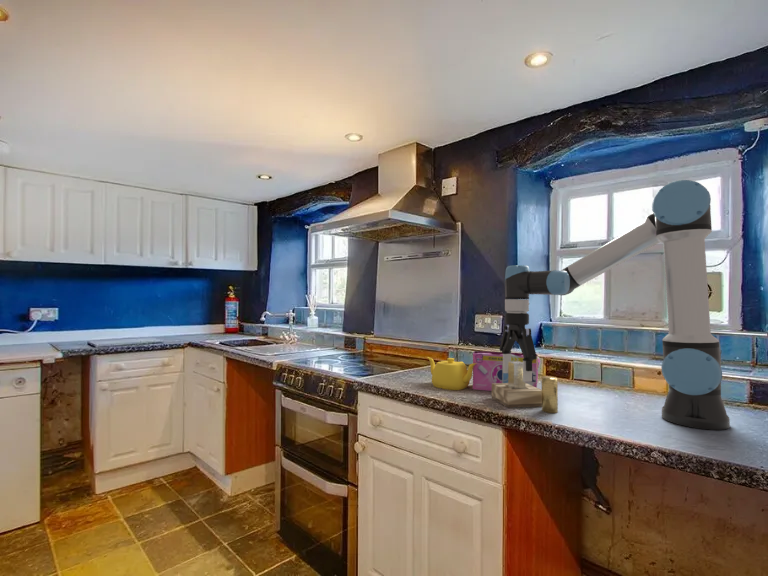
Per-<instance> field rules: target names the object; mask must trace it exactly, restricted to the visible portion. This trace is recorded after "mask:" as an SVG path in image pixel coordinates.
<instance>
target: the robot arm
mask: <svg viewBox="0 0 768 576" xmlns="http://www.w3.org/2000/svg"><path fill="white" fill-rule="evenodd" d="M711 202H712V201H711V194H710V192H709V190H708V188H706V187H705V186H704V185H702V184H701V183H700V182H697V181H695V180H691V179H680V180H675V181H671V182H670V183H667V184H665V185H664V186H663V187H661V188H660V189H659V190H658V191H657V193H656V194H655V196H654V197H653V201H652V204H651V210H652V212H651V213H650V214H648V215H646V216H645V219H644V221H643V222H641V223H639V224H638V225H636V226H634V227H633V228H631V229H629V230H627V231H625V232H623V234H620V235H619V236H618V237H615V238H614V239H612V240H611V241H609V242H607V243H606V244H604V245H602V246H600V247H598V248H597V249H595V250H593V251H591V252H590V253H588V254H587V255H584V256H583V257H582V258H579V259H578V260H576V261H575V262H573V263H572V264H571V263H570V264H569V265H567V267H564V268H563V269H561V270H556V269H554V270H539V271H536V270H535V271H534V270H533V271H532V270H530V267H529V266H528V265H524V264H523V265H520V264H519V265H518V264H517V265H508V266H507V267H506V269H505V277H504V288H505V289H504V293H505V295H504V296H505V297H504V311H505V313H504V324H506V325H504V326H503V333H502V338H501V341H500V345H499V352H502V353H503V373H508V362H511V354H509V353H512V348H514V347H513V346H514V345H515V342H516V343H518V346H519V349H520V351H521V353H522V354H523V357H524V358H523V381H524V382H529V381H532V361H533V360H534V359H537V356H536V354H537V353H536V349H535V345H534V339H533V336H532V329H531V328H526V326H527V325H530V324H529V323H530V314H529V313H527V312H529V311H530V308H529V307H530V300H529V299H530V295H545V296H547V295H548V296H550V295H551V296H567V295H569V294H571V293H573V292H574V290H575V289H578V288H579V287H581V286H582V285H585V284H586V283H588V282H589V281H592V280H594V279H595V278H597V277H598V276H600V275H602V274H605V273H606V272H608V271H610V270H612V269H613V268H615V267H618V266H619V265H621V264H623V263H625V262H627V261H628V260H630V259H632V258H634V257H636V256H638V255H639V254H642V253H643V252H645V251H647V250H649V249H650V248H652V247H654V246H656V245H658V244H659V243H663V257H664V259H663V260H664V271H665V272H664V273H665V274H664V275H665V289H666V290H665V292H666V306H667V322H668V333H667V334H666V335H665V336H664V337H663V338H662V357H663V358H662V359H663V361H662V364H661V373H662V374H661V375H662V376H663V378H664V380H665V381H666V383H667V384H668V392H667V395H666V398H665V402H664V405H663V406H662V407H661V418H662V419H664V420H665V421H668V422H670V423H672V424H673V423H674V424H677V425H680V426H684V427H689V428H695V429H699V430H700V429H702V430H711V431H712V430H714V431H717V430H718V431H719V430H723V431H724V430H728V429H730V427H731V423H730V422H731V421H730V420H731V419H730V417H729V415H728V414H727V413H728V412H727V411H726V408H725V405H724V402H723V399H722V380H723V369H722V349H721V347H722V346H721V343H720V340H719V339H718V338H717V337H716V336H714V335H712V332H711V320H710V319H711V318H710V305H709V304H710V302H709V300H710V299H709V288H708V287H709V286H708V274H707V272H708V271H707V257H706V242H705V241H706V238H707V236H709V235H710V234H711V233H712V231H713V230H712V228H713V227H712V214H711V213H712V211H711V210H712V209H711V207H712V206H711Z"/></svg>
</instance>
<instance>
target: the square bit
mask: <svg viewBox="0 0 768 576" xmlns="http://www.w3.org/2000/svg"><path fill="white" fill-rule="evenodd" d="M508 387H509V388H511V389H526V382H524V381H523V362H520V361H515V362H508Z"/></svg>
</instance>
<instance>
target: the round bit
mask: <svg viewBox="0 0 768 576" xmlns="http://www.w3.org/2000/svg"><path fill="white" fill-rule="evenodd" d="M558 381H559V379H558V378H557V377H556V376H555V377H554V376H542V377H541V390H542V407H541V412H543V413H545V414H546V413H547V414H557V413H558V412H559V411H558V409H559V406H558V405H559V399H558V397H559V396H558V395H559V393H558V392H559V391H558V385H559V384H558Z"/></svg>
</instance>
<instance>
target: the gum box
mask: <svg viewBox="0 0 768 576" xmlns="http://www.w3.org/2000/svg"><path fill="white" fill-rule="evenodd" d="M509 354H511V362H515V361H520V362H523V358H524V357H523V354H522V352H511V353H509ZM536 356H537V359H534V360H533V361H532V381H529V382H526V383H527V384H529V385H532V386H534V387H536V388H538V381H539V380H538V378H539V376H538V375H539V368H540V364H541V360H540V356H538V354H537V353H536ZM473 363H477V364H475V365H474V367H473V369H472V390H478V391H479V390H480V391H489V392H492V383H508V373H503V353H502V351H488V350H487V351H486V350H475V351H473V353H472V364H473Z"/></svg>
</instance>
